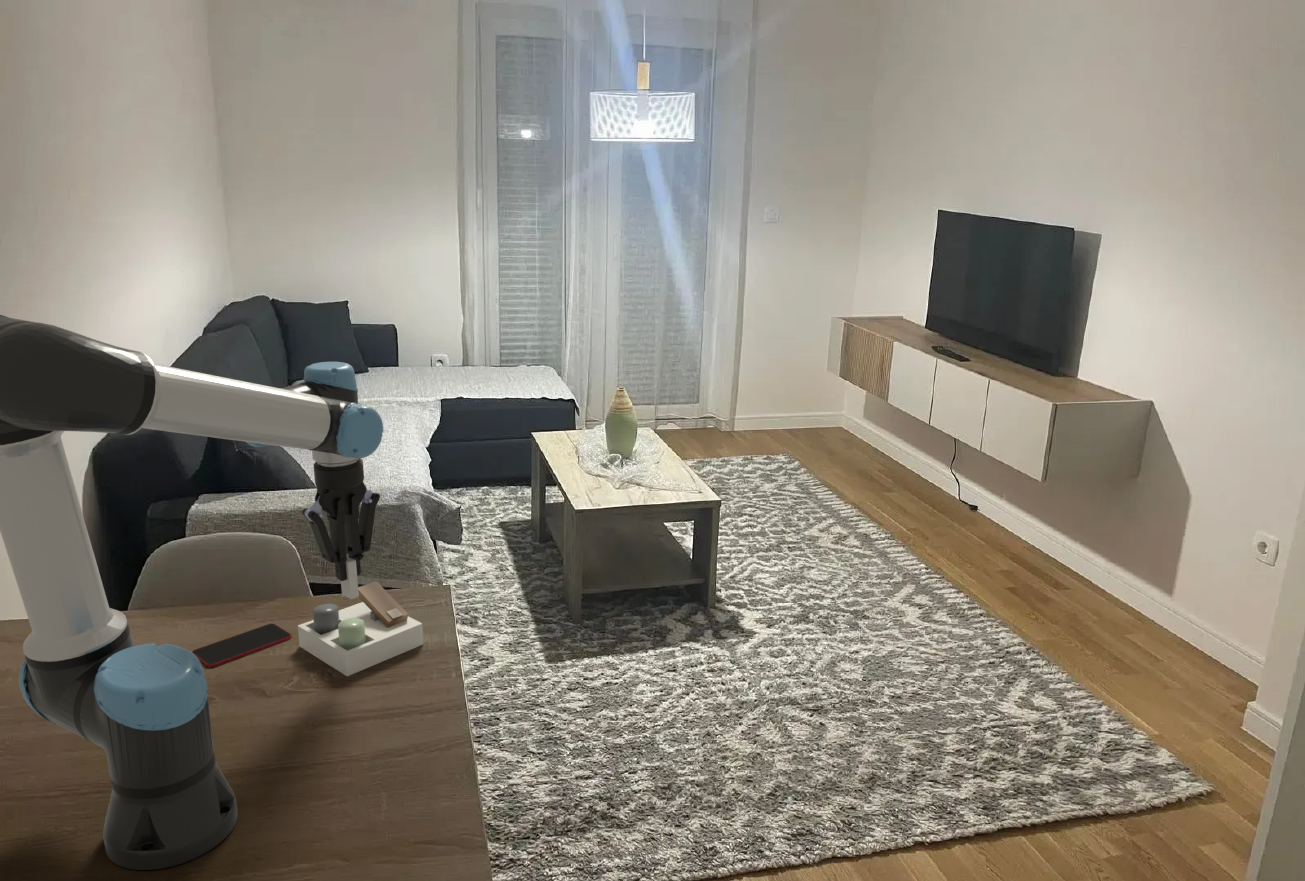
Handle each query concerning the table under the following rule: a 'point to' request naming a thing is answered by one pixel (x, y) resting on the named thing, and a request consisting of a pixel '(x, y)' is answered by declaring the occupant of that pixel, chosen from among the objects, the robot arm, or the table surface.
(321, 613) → the button graphite
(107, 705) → the robot arm
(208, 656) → the smartphone
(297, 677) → the table surface
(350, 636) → the button sage
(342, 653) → the panel
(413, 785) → the table surface
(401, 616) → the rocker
